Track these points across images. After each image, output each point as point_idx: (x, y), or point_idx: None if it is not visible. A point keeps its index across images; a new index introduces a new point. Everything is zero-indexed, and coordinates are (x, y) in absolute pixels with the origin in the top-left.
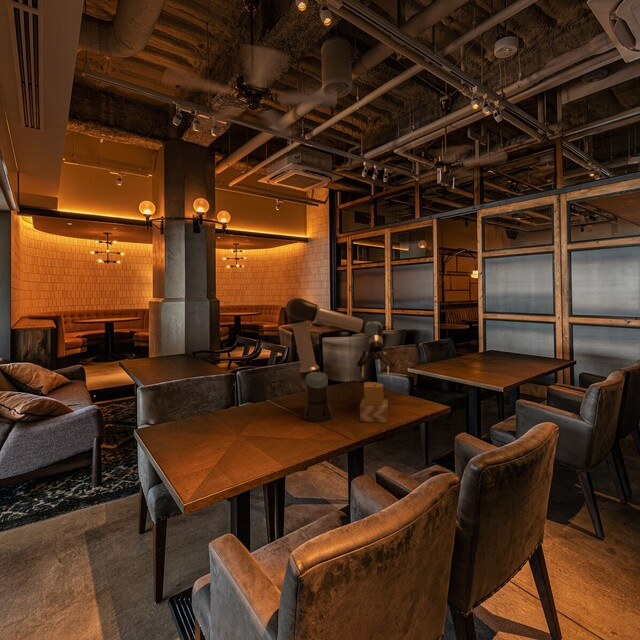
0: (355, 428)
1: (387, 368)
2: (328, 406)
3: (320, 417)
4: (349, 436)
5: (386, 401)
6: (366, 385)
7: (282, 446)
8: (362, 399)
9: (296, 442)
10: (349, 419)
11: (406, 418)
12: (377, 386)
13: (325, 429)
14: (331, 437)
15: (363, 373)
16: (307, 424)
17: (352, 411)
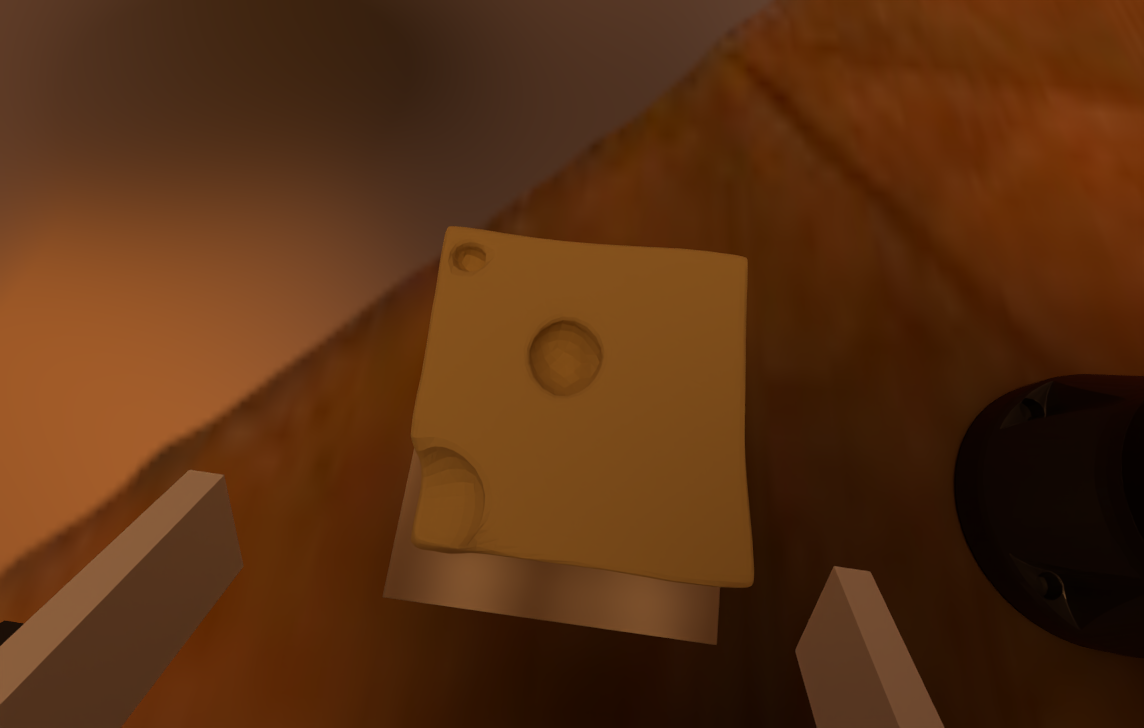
0: (730, 235)
1: (21, 680)
2: (1068, 460)
3: (1056, 377)
4: (763, 108)
5: (419, 489)
6: (708, 344)
7: (1129, 3)
8: (707, 602)
9: (1071, 45)
10: (790, 434)
11: (291, 431)
12: (529, 260)
13: (946, 228)
14: (876, 100)
15: (848, 706)
16: (1113, 334)
17: (778, 681)
